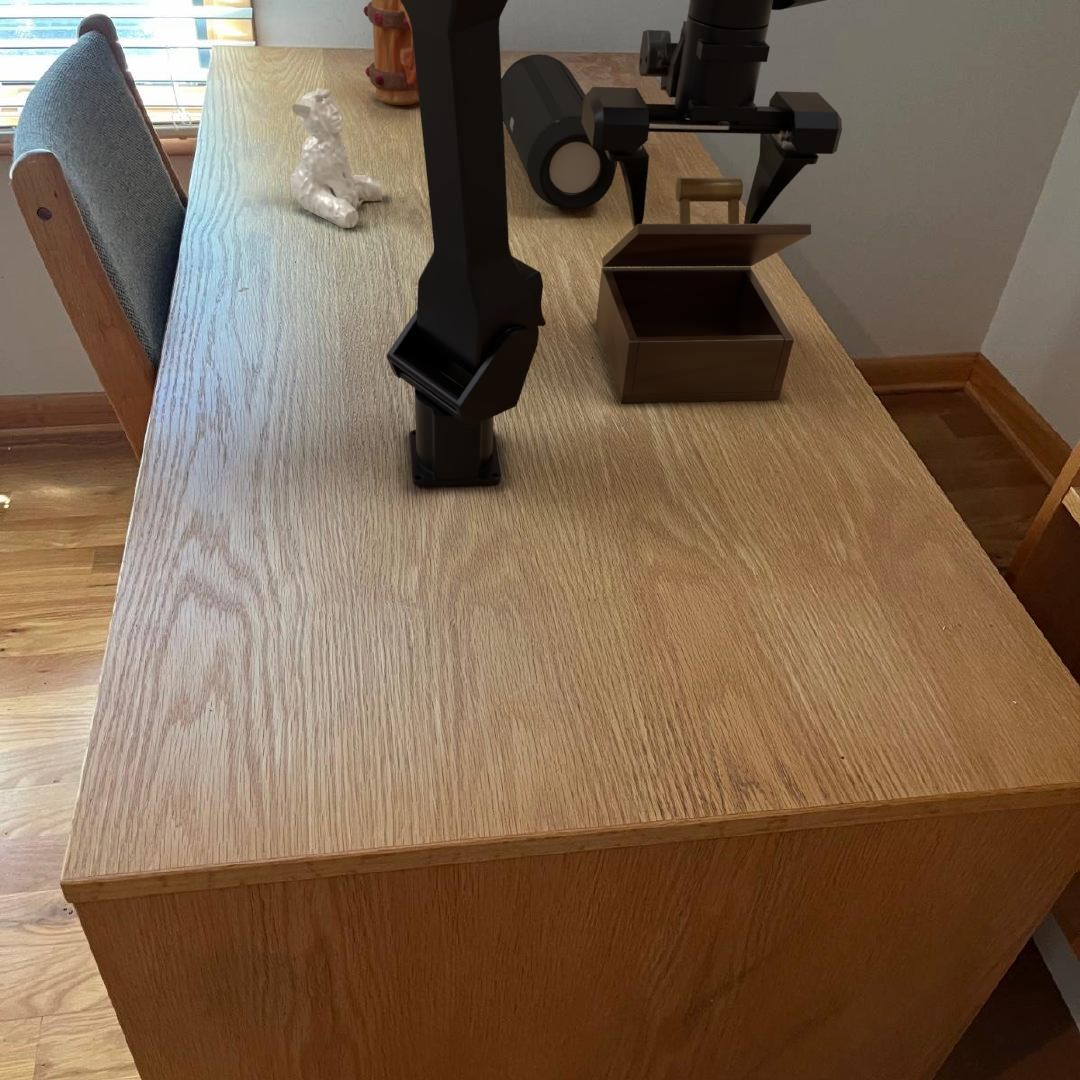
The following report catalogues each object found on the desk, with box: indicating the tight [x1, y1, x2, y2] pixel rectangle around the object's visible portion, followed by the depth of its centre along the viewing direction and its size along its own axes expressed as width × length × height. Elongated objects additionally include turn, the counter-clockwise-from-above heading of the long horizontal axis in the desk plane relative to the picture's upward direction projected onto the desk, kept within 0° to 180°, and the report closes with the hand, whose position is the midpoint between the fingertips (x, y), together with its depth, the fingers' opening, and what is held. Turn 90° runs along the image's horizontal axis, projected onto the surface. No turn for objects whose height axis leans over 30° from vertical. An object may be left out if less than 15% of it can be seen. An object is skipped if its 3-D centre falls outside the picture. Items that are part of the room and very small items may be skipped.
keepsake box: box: [595, 266, 795, 404], centre depth 88 cm, size 13×14×6 cm
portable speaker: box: [501, 53, 618, 211], centre depth 117 cm, size 26×10×10 cm, turn 11°
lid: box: [601, 176, 812, 268], centre depth 84 cm, size 13×14×5 cm
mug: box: [363, 0, 419, 106], centre depth 128 cm, size 15×8×15 cm, turn 25°
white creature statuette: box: [290, 87, 383, 229], centre depth 105 cm, size 10×9×12 cm
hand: (692, 229), depth 82 cm, fingers open, 9 cm apart
